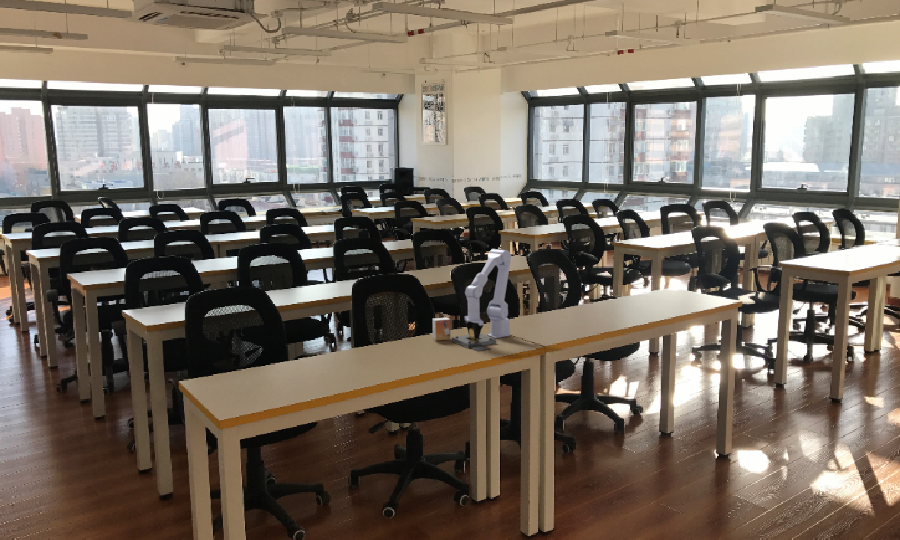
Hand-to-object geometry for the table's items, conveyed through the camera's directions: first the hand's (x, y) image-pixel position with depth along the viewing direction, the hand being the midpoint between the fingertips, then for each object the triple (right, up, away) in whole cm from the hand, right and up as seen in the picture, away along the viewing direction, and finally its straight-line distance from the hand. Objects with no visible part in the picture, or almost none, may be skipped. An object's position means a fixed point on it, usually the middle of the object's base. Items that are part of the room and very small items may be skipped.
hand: (474, 337), depth 350 cm
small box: (-16, -2, +9) cm, 18 cm away
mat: (+3, -5, -11) cm, 12 cm away
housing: (0, -3, +1) cm, 3 cm away
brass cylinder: (0, -3, 0) cm, 3 cm away
